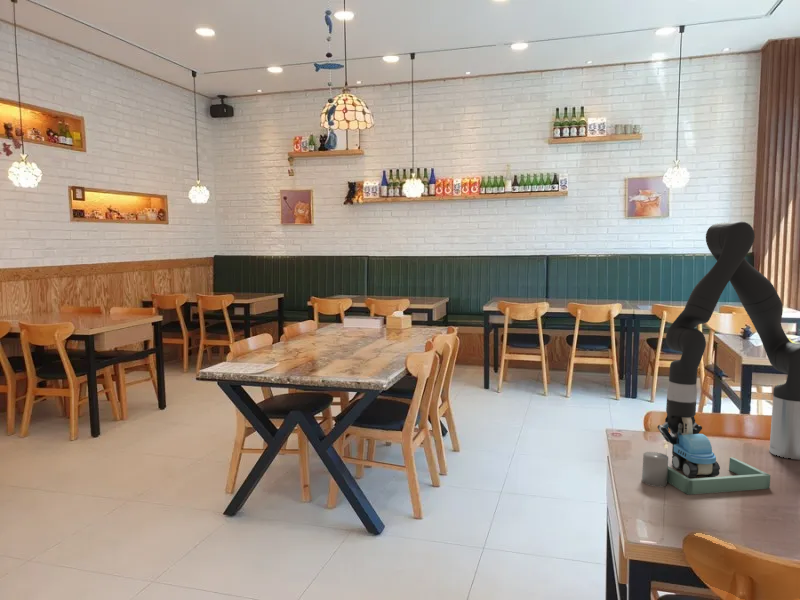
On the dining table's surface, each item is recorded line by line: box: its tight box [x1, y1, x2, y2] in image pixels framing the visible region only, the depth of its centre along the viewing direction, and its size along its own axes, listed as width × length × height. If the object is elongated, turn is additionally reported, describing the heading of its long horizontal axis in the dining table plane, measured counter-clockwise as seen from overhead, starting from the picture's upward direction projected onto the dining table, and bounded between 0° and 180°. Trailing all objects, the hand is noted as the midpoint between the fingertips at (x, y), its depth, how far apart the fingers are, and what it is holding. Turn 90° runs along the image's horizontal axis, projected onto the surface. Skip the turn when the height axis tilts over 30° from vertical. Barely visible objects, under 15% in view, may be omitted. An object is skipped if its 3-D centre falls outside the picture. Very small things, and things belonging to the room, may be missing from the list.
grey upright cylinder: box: [641, 451, 669, 488], centre depth 153 cm, size 6×6×7 cm
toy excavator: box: [671, 417, 721, 478], centre depth 162 cm, size 9×17×17 cm, turn 5°
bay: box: [667, 457, 771, 496], centre depth 154 cm, size 23×13×4 cm, turn 101°
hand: (677, 457), depth 167 cm, fingers closed
